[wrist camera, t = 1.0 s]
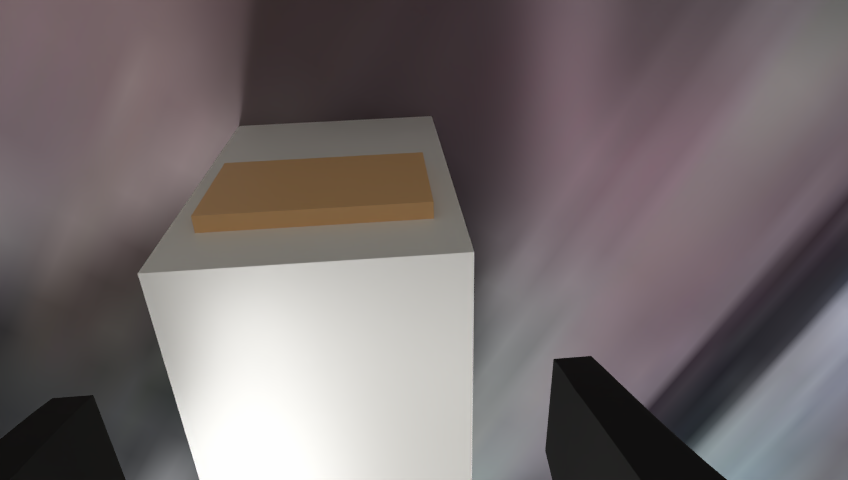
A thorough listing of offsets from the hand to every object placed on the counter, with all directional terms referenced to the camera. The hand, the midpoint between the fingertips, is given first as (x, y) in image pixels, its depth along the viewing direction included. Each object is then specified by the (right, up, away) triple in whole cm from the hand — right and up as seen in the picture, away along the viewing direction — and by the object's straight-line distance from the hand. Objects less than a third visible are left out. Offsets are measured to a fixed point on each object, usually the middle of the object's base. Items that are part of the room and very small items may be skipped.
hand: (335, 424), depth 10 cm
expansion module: (0, +2, +4) cm, 5 cm away
